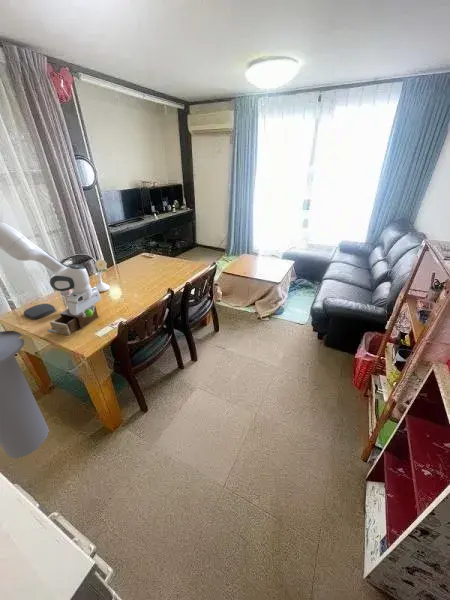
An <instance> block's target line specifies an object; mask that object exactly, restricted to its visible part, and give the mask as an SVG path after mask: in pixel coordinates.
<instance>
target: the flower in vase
mask: <svg viewBox="0 0 450 600" xmlns="http://www.w3.org/2000/svg"><path fill="white" fill-rule="evenodd" d="M107 265H108V263H107V262H106V260H104V259H101V258H100V259H97V260H96V261H95V263H94V267H95V268H96V269H97V272H96V273H94V275H95V276H96V278H97V280H98V282H97V283H96V285H95V286H94V287H97V288H98V292H99V293H101V292H106V291H108V290H110V285H109V284H107V283H105V282H103V281H102V274H103V273H105V272H107V271H108V269H106V268H107ZM101 271H102V272H103V273H102V272H101Z"/></svg>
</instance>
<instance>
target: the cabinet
mask: <svg viewBox="0 0 450 600" xmlns="http://www.w3.org/2000/svg"><path fill="white" fill-rule="evenodd" d="M88 309H91V307H89V308H88ZM86 310H87V309H86ZM84 311H85V310H84ZM62 315H65V316H70V317H75V318H77V320H78V324H79V327H78V328H77V329H79V330H82V329H83V328H85V327H86V326H88V325H89V324H91V323H92V322H93V321H95V320H96V319H97V318H99V315H98V310H97V307H96V306H95V307H94V312H93V315H92V316H91V317H83V316H82V314H81V313H80V314H78V315H72V314H71V313H70V311H69V309H67V310H63V311H62V312H60V317H61V316H62Z"/></svg>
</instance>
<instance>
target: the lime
mask: <svg viewBox="0 0 450 600" xmlns="http://www.w3.org/2000/svg"><path fill="white" fill-rule="evenodd" d="M84 313H86V314H87V316H86V317H91V316H92V315H93V311H92V310H91V309H87V310H85V311H84Z"/></svg>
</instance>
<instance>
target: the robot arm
mask: <svg viewBox="0 0 450 600" xmlns="http://www.w3.org/2000/svg"><path fill="white" fill-rule="evenodd" d="M0 249H1V250H2V251H3V252H5V253H6V254H7V255H8V256H10V257H12V258H13V259H16V260H18V261H22V262H24V261H25V262H26V261H27V262H28V261H34V262H37V263H40V264H41V265H43V266H44V267H46V268H47V269H48V270H50V271H51V272H53V274H52V276H51V278H50V279H49V285H50V286H51V288H52V289H54V290H55V291H58V292H60V291H66V290H70V289H72V293H71V294H70V295H69V296H68V297H67V301H69V303H68V307H69V311H70V313H71V314H72V315H78V314H80V313H81V314H82V316H83V317H86V316H87V314H86V313H84V310H86V309H88V308H89V307H91V310H92V311H93V312H94V307H96V304H97V303H99V302H101V300H102V297H101V294H100V292H98V288H97V287H95V286H93V287H92V286H91V284H90V277H89V273H88V271H87V269H86V267H85V266H84V265H82V264H77V263H76V264H70V265H67V264H64V263H62V262H60V261H59V260H58V259H57V258H55V257H53V256H52V255H51V254H50V253H48V252H47V251H45V250H44V249H42V248H41V247H39V246H38V245H36V244H35V243H34V242H32V241H31V240H29V239H28V238H27V237H26V236H25V235H23V233H21V232H19V231H18V230H17V229H15V228H14V227H12V226H11V225H9V224H7V223H6V222H3V221H0Z"/></svg>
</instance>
